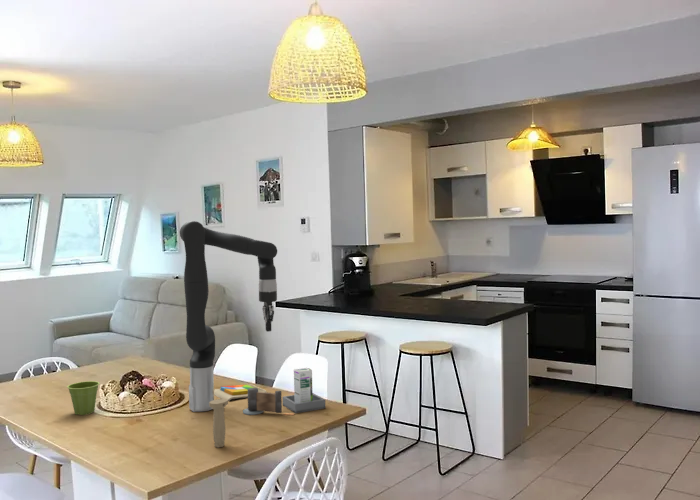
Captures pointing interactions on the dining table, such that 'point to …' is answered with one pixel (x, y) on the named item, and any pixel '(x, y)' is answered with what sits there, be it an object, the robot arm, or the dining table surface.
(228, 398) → the wooden puzzle
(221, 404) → the handle
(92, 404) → the plant pot
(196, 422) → the dining table surface
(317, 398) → the grey tray
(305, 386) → the syrup box
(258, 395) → the crank lever
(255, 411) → the crank base
